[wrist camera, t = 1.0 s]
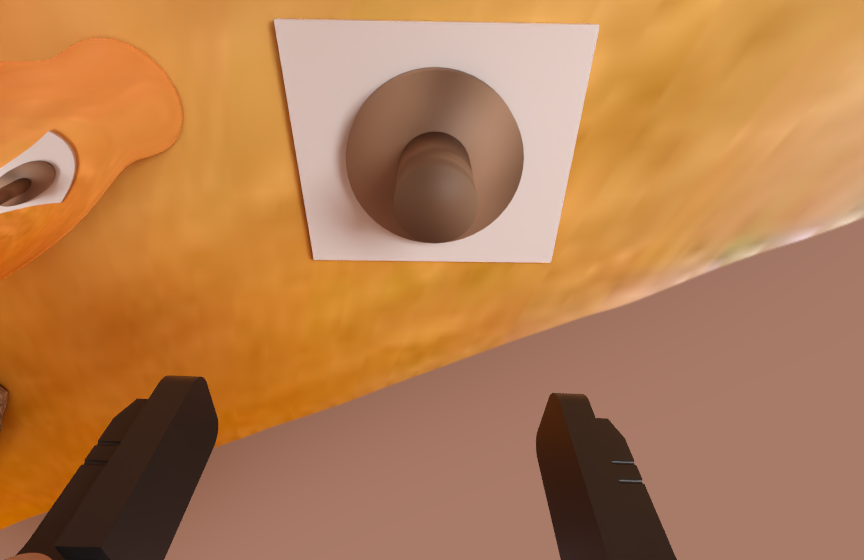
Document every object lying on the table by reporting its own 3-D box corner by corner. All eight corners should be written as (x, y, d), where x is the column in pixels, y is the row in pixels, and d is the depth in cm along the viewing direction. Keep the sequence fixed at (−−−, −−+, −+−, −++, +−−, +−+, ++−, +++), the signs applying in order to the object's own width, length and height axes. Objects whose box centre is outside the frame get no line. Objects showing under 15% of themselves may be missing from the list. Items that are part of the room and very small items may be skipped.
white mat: (596, 24, 22) (599, 25, 22) (549, 258, 30) (550, 262, 30) (276, 18, 22) (273, 19, 22) (315, 255, 30) (313, 259, 30)
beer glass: (189, 50, 23) (-85, 151, 11) (194, 174, 27) (-4, 350, 15) (41, 8, 22) (-453, 66, 10) (68, 143, 26) (-258, 306, 14)
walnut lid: (532, 68, 23) (560, 97, 18) (510, 236, 29) (526, 292, 24) (339, 65, 23) (314, 93, 18) (355, 234, 29) (340, 290, 24)
